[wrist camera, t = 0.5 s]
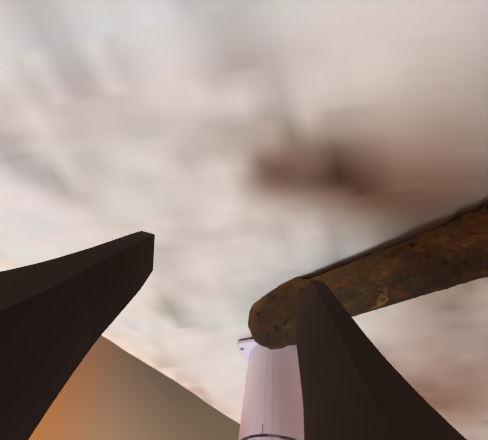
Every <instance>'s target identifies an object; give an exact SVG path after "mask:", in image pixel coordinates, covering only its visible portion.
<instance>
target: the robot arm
mask: <svg viewBox="0 0 488 440" xmlns="http://www.w3.org/2000/svg"><path fill="white" fill-rule="evenodd" d="M154 237H155V235H154V234H151V233H147V232H143V231H140V232H136V233H133V234H130V235H127V236H124V237H121V238H118V239H115V240H113V241H110V242H107V243H104V244H101V245H98V246H95V247H92V248H89V249H86V250H82V251H79V252H76V253H73V254H69V255H66V256H63V257H59V258H56V259H52V260H49V261H45V262H41V263H37V264H33V265H29V266H24V267H20V268H16V269H11V270H7V271H2V272H0V440H28V439H29V437H30V436H31V434H32V433H33V431H34V430H35V428H36V427H37V425H38V424H39V422H40V421H41V419H42V418H43V416H44V415H45V413H46V412H47V410H48V409H49V407H50V405H51V404H52V403H53V401H54V400H55V398H56V397H57V395H58V394H59V392H60V391H61V389H62V388H63V387H64V385H65V384H66V382H67V381H68V379H69V378H70V376H71V375H72V373H73V372H74V370H75V369H76V368H77V367H78V365H79V364H80V362H81V361H82V359H83V358H84V357H85V355H86V354H87V353H88V351H89V350H90V348H91V347H92V346H93V344H94V343H95V342H96V341H97V339H98V338H99V337H100V336H101V334H102V333H103V332H104V331H105V330H106V329H107V327H108V326H109V325H110V324H111V323H112V322H113V321H114V319H115V318H116V317H117V316H118V315H119V314H120V312H121V311H122V310H123V309H124V308H125V307H126V305H127V304H128V303H129V302H130V301H131V300H132V298H133V297H134V296H135V295H136V294H137V292H138V291H139V290H140V289H141V287H142V286H143V284H144V283H145V281H146V280H147V278H148V277H149V275H150V274H151V272H152V271H153V256H154ZM295 336H296V345H293V346H286V347H284V348H282V349H273V350H270V349H269V348H267V347H263V346H261V345H259V344H258V343H256V342H255V341H254V340H253V339H248V340H242V341H238V342H237V347H238V349H239V351H240V352H241V354H242V355H243V357H244V359H245V360H246V362H247V363H248V366H247V374H246V382H245V391H244V399H243V407H242V415H241V424H240V432H239V440H466V439H465V438H464V437H463V436H462V435H461V434H460V433H459V432H458V431H457V430H455V429H454V428H453V427H452V426H451V425H450V424H449V423H448V422H447V421H446V420H445V419H444V418H443V417H442V416H441V415H440V414H439V413H438V412H437V411H436V410H435V409H434V408H433V407H432V406H430V405H429V404H428V403H427V402H426V401H425V400H424V399H423V398H422V397H421V396H420V395H419V394H418V393H417V392H416V391H415V390H414V389H413V388H412V387H411V385H410V384H409V383H408V382H407V381H406V380H405V379H404V378H403V377H402V376H401V375H400V374H399V373H398V372H397V371H396V370H395V368H394V367H393V366H392V365H391V364H390V363H389V362H388V361H387V360H386V359H385V357H384V356H383V355H382V354H381V353H380V352H379V350H378V349H377V348H376V347H375V346H374V345H373V343H372V342H371V341H370V340H369V339H368V337H367V336H366V335H365V334H364V333H363V331H362V330H361V329H360V328H359V326H358V325H357V324H356V322H355V321H354V320H353V319H352V317H351V316H350V315H349V313H348V312H347V311H346V309H345V308H344V307H343V305H342V304H341V303H340V301H339V300H338V299H337V297H336V296H335V295H334V293H333V292H332V291H331V290H330V288H329V287H328V286H327V285H326V283H325V282H322V281H318V280H314V279H311V280H310V282H309V284H308V286H307V288H306V290H305V292H304V294H303V296H302V299H301V301H300V303H299V305H298V307H297V309H296V312H295Z"/></svg>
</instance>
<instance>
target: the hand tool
mask: <svg viewBox="0 0 488 440" xmlns="http://www.w3.org/2000/svg"><path fill="white" fill-rule="evenodd" d="M484 277H488V200H487V202H486V203H485V204H484V206H483V207H482V208H481V209H480V210H479V211H477V212H462V213H458V215H457V217H456V220H455V221H453V222H451V223H449V224H446V225H444V226H441V227H439V228H437V229H434V230H431V231H428V232H425V233H423V234H421V235H419V236H417V237H415V238H413V239H410V240H408V241H405V242H403V243H400V244H398V245H395V246H392V247H390V248H387V249H378V250H376V251H375V252H374V253H373V254H371V255H369V256H366V257H363V258H360V259H357V260H354V261H353V262H351V263H349V264H346V265H344V266H341V267H338V268H336V269H333V270H331V271H328V272H325V273H323V274H320V275H318V276H316V277H313V278H311V279H314V280H318V281H322V282H325V283H326V285H327V286H328V287H329V288H330V290H331V291H332V292H333V293H334V295H335V296H336V297H337V299H338V300H339V301H340V303H341V304H342V305H343V307H344V308H345V309H346V311H347V312H348V313H349V315H350V316H351V317H352V316H357V315H359V314H363V313H366V312H369V311H373V310H376V309H379V308H383V307H386V306H389V305H392V304H396V303H399V302H402V301H406V300H409V299H412V298H413V299H414V298H416V297H418V296H421V295H425V294H429V293H432V292H436V291H440V290H444V289H448V288H450V287H453V286H456V285H458V284H463V283H467V282H470V281H472V280H476V279H479V278H484ZM311 279H304V278H302V277H296V278H294V279H291V280H289V281H287V282H286V283H284V284H282V285H280V286H279V287H277V288H276V289H274V290H273V291H271V292H270V293H269V294H267V295H266V296H264V297H263V298H262V299H261V300H259V301H258V302H257V303H256V304H254V305H253V306H252V307H251V309H250V313H249V321H248V326H249V329H250V331H251V334H252V337H253V340H254V341H255V342H256V343H258V344H259V345H261V346H263V347H267V348H269V349H270V350H273V349H282V348H284V347H286V346H293V345H296V336H295V312H296V309H297V307H298V305H299V303H300V301H301V299H302V296H303V294H304V292H305V290H306V288H307V286H308V284H309V282H310V280H311Z"/></svg>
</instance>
